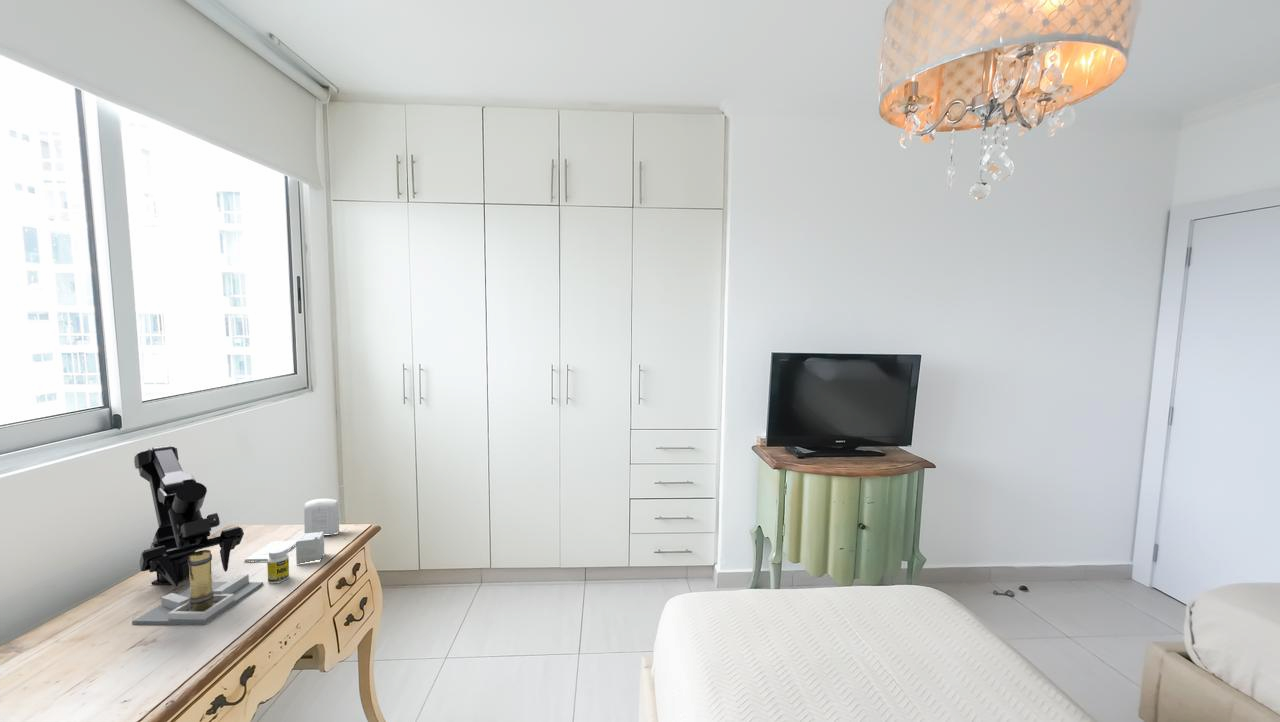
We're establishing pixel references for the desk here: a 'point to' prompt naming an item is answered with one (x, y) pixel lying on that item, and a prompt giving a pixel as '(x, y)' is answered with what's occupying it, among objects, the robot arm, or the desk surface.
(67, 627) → the desk surface
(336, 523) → the photo printer
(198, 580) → the disc
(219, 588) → the coupling station
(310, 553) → the skincare box
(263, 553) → the external hard drive
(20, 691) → the desk surface
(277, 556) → the supplement bottle
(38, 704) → the desk surface
